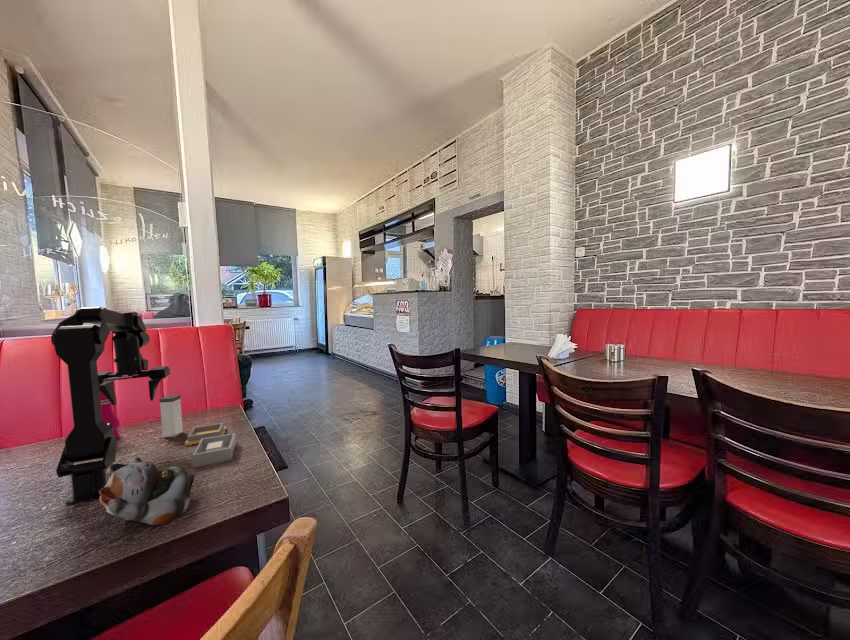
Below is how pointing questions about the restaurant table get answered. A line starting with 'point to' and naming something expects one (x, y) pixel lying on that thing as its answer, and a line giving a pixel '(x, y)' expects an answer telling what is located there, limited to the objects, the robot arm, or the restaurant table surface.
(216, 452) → the light gray open tray
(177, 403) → the grey rectangular block
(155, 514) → the lucky cat figurine
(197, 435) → the square tray
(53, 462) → the restaurant table surface
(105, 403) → the pepper mill
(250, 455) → the restaurant table surface
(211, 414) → the restaurant table surface
